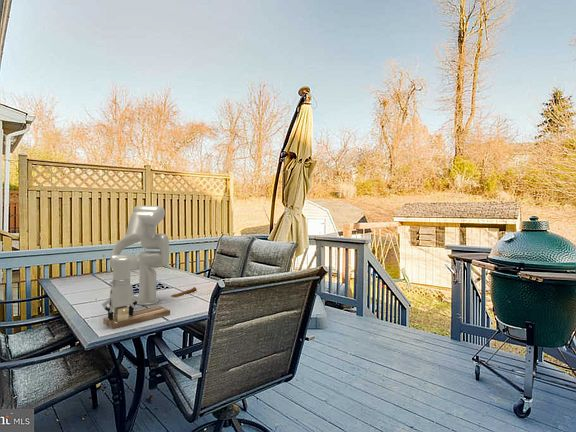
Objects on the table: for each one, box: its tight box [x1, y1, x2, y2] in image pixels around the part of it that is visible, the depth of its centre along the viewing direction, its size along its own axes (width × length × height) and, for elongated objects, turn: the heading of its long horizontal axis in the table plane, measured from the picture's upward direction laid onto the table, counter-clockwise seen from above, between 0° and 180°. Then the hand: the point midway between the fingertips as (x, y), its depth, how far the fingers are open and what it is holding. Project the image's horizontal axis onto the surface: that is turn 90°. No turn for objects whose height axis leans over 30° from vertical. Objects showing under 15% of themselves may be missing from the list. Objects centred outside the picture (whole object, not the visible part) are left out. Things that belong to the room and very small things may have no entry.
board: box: [102, 305, 171, 330], centre depth 163 cm, size 12×29×3 cm, turn 141°
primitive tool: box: [170, 286, 198, 298], centre depth 215 cm, size 19×6×4 cm, turn 150°
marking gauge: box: [113, 305, 130, 322], centre depth 155 cm, size 8×5×6 cm, turn 51°
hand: (121, 317), depth 155 cm, fingers open, 9 cm apart
